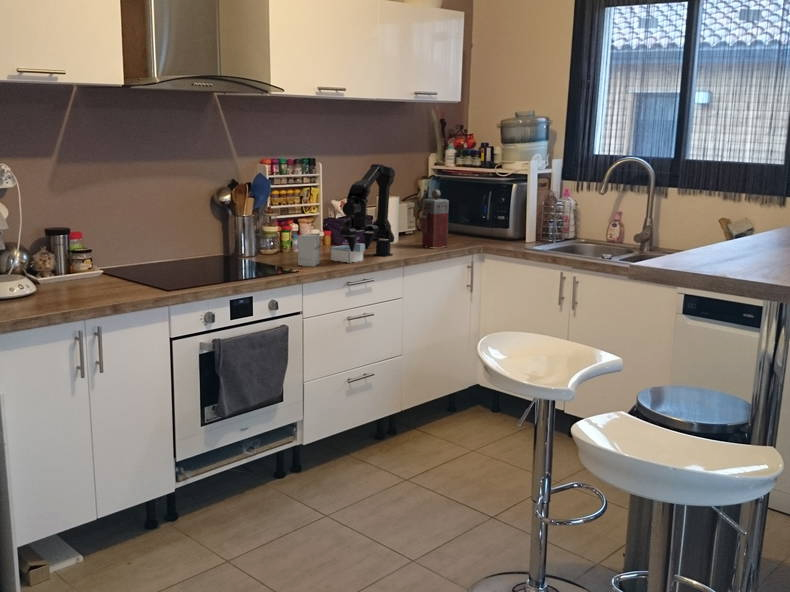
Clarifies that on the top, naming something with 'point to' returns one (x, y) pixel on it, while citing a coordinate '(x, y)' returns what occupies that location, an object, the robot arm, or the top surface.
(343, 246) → the light blue tapered piece
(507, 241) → the top surface
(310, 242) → the supplement box
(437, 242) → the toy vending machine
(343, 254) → the tub
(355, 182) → the robot arm
